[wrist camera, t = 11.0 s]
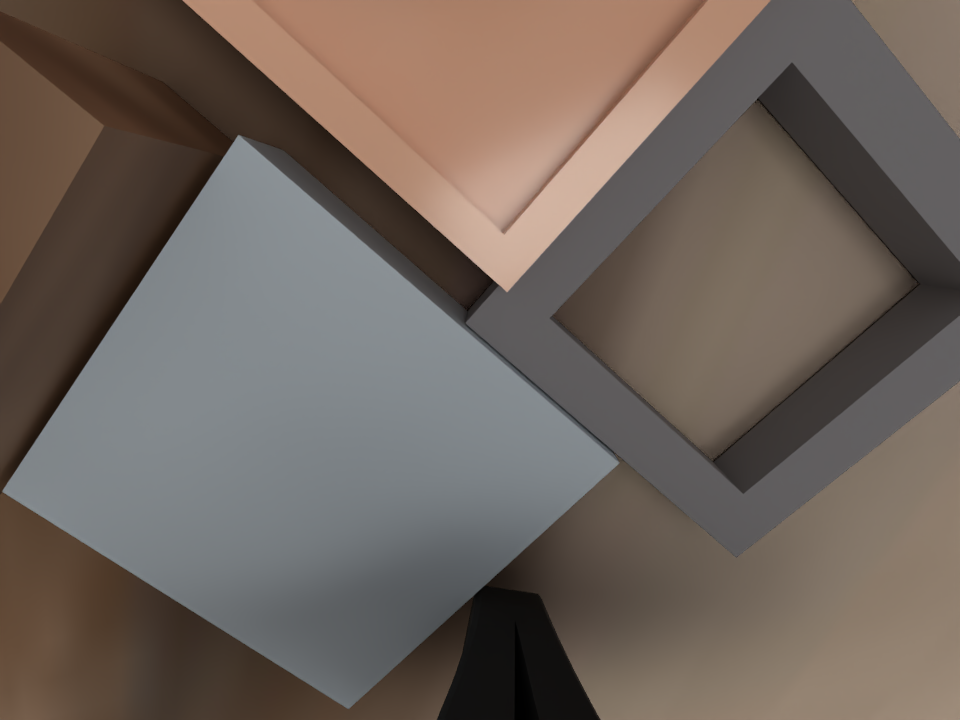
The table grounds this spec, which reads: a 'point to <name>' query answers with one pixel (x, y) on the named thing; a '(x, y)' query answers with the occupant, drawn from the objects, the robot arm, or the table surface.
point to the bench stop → (80, 210)
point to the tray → (486, 97)
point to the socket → (866, 186)
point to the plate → (304, 434)
